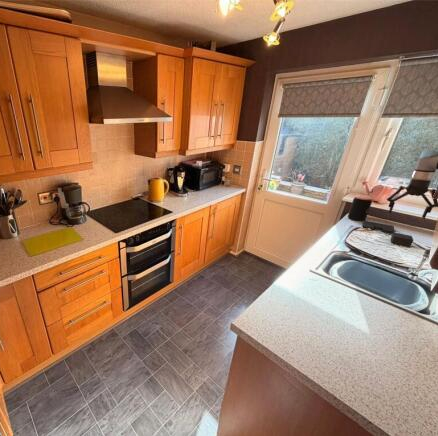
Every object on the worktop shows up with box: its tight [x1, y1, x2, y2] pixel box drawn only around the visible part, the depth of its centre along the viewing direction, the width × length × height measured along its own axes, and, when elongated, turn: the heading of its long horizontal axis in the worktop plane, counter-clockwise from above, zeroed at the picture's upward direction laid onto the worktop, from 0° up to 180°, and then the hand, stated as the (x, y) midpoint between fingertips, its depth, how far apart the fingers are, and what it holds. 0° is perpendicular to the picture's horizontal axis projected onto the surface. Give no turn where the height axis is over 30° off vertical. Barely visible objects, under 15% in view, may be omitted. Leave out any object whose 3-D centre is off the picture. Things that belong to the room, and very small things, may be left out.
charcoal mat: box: [361, 220, 396, 235], centre depth 163 cm, size 14×16×2 cm
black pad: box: [390, 231, 414, 248], centre depth 142 cm, size 11×8×5 cm
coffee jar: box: [347, 194, 374, 222], centre depth 176 cm, size 11×11×18 cm
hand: (405, 215), depth 134 cm, fingers open, 13 cm apart
